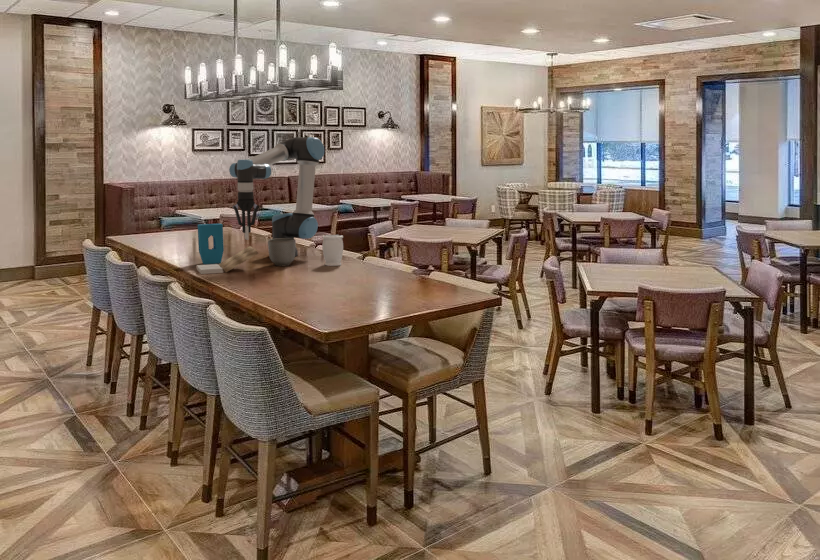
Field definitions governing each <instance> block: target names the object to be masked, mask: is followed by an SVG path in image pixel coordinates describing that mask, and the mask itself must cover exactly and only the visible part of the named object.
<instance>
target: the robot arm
mask: <svg viewBox="0 0 820 560" xmlns="http://www.w3.org/2000/svg"><path fill="white" fill-rule="evenodd" d="M324 155H325V146H324V144H323V142H322V140H321V139H319V138H318V137H313V136H305V137H304V136H302V137H301V136H300V137H299V136H297V137H296V136H295V137H291V138H288V139H286V140H283V141H281V142H278V143H276V145H274V147H272V148H271V149H268V150H266V151H264V152H261V153H259V154H257V155H254V156H253V157H251V158H249V159H238V160H237V161H236V162H234V163H231V164H230V166H229V170H228V171H229V174H230V176H231V177H232V178H236V179H237V201H236V204H235V205H232V208H233V210H234V213H235V217H236V221H237V223H238V225H239V226H242V227H241V228H242V233H243V234H244V240H247V241H248V240H250V235H249V234H250V233H251V227H252V226H254V225H255V224H256V223H255V222H256V218H257V214H258V210H259V208H260V206H259V205H258V204H256V203H255V201H254V192H253V191H254V180H259V179H261V180H265V179H268V178H270V177H271V176H272V167H271V166H273V165H274V164H276V163H278V162H285V161H287V160H296V162H297V164H298V165H299V168H298V178H297V189H296V190H297V191H296V203H295V204H296V205H295V210H293V212H291V213H290V212H288V213H281V214H274V215H272V218H271V220H272V221H271V231H272V232H271V233H272V239H276V238H290V239H303V240H305V239H312V238H313V237H314V236H315V235H316V234H317V232H318V227H319V223H318V220H317V219H316V218H315V213H314V212H313V201H314V190H315V189H314V188H315V179H316V178H315V177H316V167H317V166H318V165H319V164H320V160H321V159H323V157H324ZM239 209H240V210H241V216H240V213H239V212H240V211H239ZM252 209H253V212H252V211H251V210H252ZM251 212H252V217H251ZM246 224H247V225H246ZM298 255H299V253H298V248H297V246H296V247H295V257H297V256H298Z"/></svg>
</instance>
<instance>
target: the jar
mask: <svg viewBox="0 0 820 560" xmlns="http://www.w3.org/2000/svg"><path fill="white" fill-rule="evenodd" d="M343 238H344V235H340V234H324V235H322V239H323V240H322V245H321V248H322V250H321V251H322V254H323V258H324V259H323V260H324V261H325V263H324V266H326V267H329V266H330V267H338V266H342V262H341V261H342V259H343V253H344V241H343Z"/></svg>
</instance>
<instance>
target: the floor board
mask: <svg viewBox="0 0 820 560" xmlns="http://www.w3.org/2000/svg"><path fill="white" fill-rule="evenodd" d="M196 271H198V273H199V274H200V275H206V274H207V275H209V274H223V273H224V274H225V271H224V270H223V269H222V268H221V267H220V266H219V264H197V265H196Z"/></svg>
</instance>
